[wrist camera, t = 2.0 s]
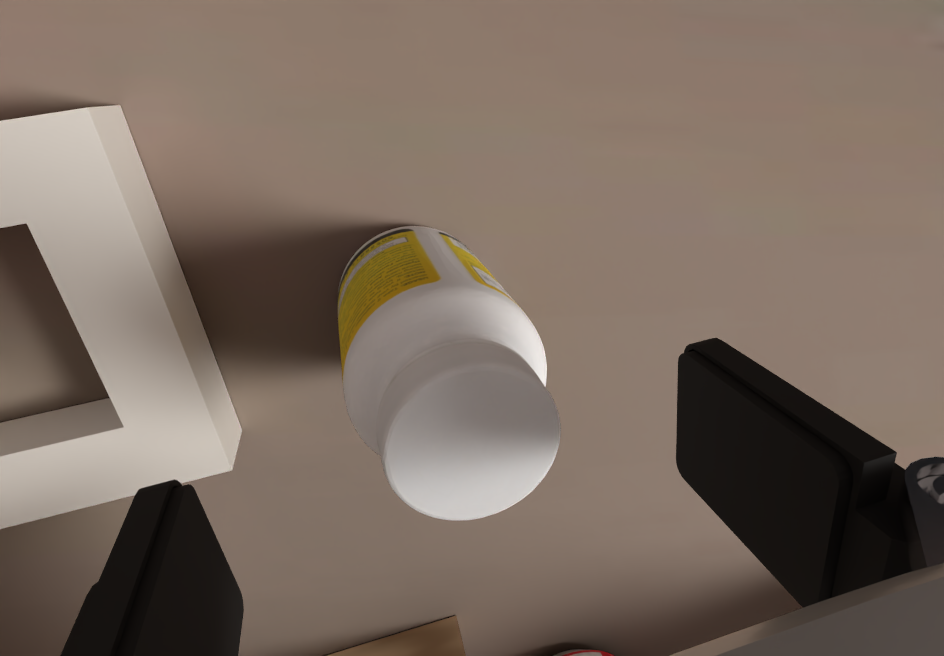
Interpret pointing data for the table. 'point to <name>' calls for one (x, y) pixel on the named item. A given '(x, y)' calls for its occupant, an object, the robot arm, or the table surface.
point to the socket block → (108, 325)
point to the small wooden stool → (415, 642)
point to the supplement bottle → (444, 376)
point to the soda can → (583, 653)
